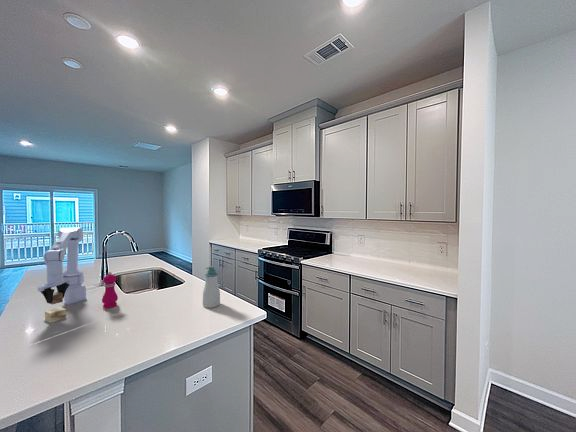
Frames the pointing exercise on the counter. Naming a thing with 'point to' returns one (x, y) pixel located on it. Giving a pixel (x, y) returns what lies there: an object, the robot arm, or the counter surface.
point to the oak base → (55, 314)
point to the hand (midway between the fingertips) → (55, 300)
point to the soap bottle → (211, 289)
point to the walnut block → (57, 298)
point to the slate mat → (53, 321)
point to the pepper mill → (109, 291)
